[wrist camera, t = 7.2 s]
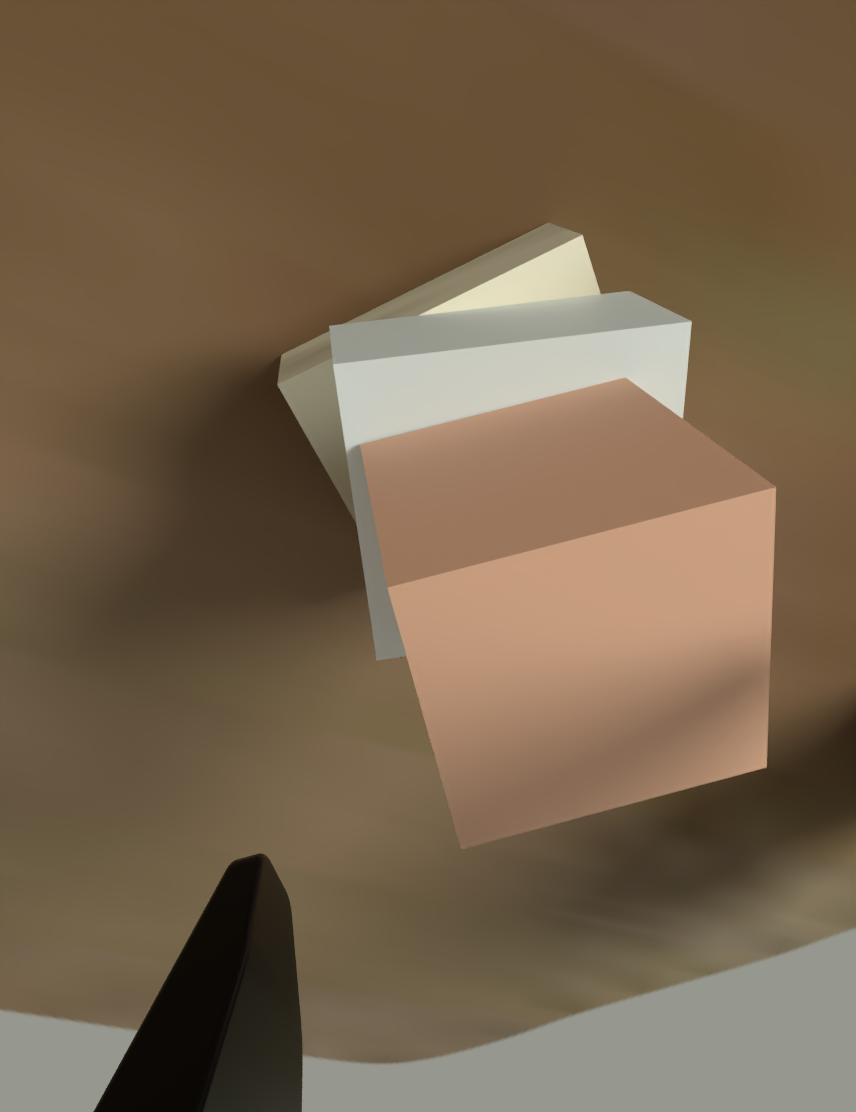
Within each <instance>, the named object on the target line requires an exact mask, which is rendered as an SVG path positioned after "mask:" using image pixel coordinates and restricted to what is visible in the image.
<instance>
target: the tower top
mask: <svg viewBox="0 0 856 1112" xmlns="http://www.w3.org/2000/svg"><path fill="white" fill-rule="evenodd" d="M691 323H692V321H690V320H688V319H686V318H684V317H682V316H680V315H677V314H675V313H673V312H671V311H669V310H667V309H665V308H663V307H661V306H659V305H657V304H655V303H653V302H651V301H649V300H647V299H645V298H643V297H641V296H639V295H637V294H635V293H633V292H630V291H626V292H617V293H608V294H600V295H591V296H582V297H574V298H565V299H557V300H548V301H539V302H531V303H522V304H513V305H505V306H496V307H488V308H479V309H470V310H462V311H453V312H444V313H436V314H427V315H418V316H410V317H401V318H393V319H384V320H375V321H367V322H358V323H349V324H341V325H332V326H329V329H330V339H331V349H332V359H333V368H334V374H335V381H336V388H337V395H338V402H339V408H340V415H341V422H342V429H343V435H344V442H345V449H346V456H347V462H348V469H349V476H350V483H351V490H352V496H353V503H354V510H355V517H356V523H357V530H358V537H359V544H360V551H361V557H362V564H363V571H364V578H365V584H366V591H367V598H368V605H369V612H370V618H371V625H372V632H373V639H374V645H375V652H376V659H377V660H384V659H391V658H397V657H404V656H406V652H405V649H404V645H403V642H402V638H401V634H400V631H399V627H398V624H397V620H396V617H395V613H394V610H393V606H392V602H391V599H390V595H389V592H388V588H387V583H386V578H385V573H384V568H383V563H382V557H381V552H380V547H379V542H378V537H377V532H376V526H375V521H374V516H373V511H372V506H371V500H370V495H369V490H368V485H367V480H366V474H365V469H364V464H363V459H362V454H361V449H360V445H361V444H365V443H368V442H372V441H376V440H380V439H384V438H388V437H392V436H396V435H400V434H404V433H408V432H412V431H416V430H420V429H424V428H428V427H432V426H436V425H439V424H443V423H447V422H451V421H455V420H459V419H463V418H467V417H471V416H475V415H479V414H483V413H487V412H491V411H495V410H499V409H503V408H507V407H511V406H514V405H518V404H522V403H526V402H530V401H534V400H538V399H542V398H546V397H550V396H554V395H558V394H562V393H566V392H570V391H574V390H578V389H582V388H586V387H589V386H593V385H597V384H601V383H605V382H609V381H613V380H617V379H621V378H625V377H626V378H627V379H629V380H630V381H631V382H633V383H634V384H635V385H637V386H638V387H640V388H641V389H642V390H644V391H645V392H646V393H648V394H649V395H650V396H652V397H653V398H655V399H656V400H657V401H659V402H660V403H661V404H663V405H664V406H666V407H667V408H668V409H670V410H671V411H672V412H674V413H675V414H677V415H678V416H679V417H681V418H682V419H683V411H684V400H685V389H686V378H687V367H688V356H689V345H690V334H691Z"/></svg>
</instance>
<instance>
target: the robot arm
mask: <svg viewBox="0 0 856 1112" xmlns="http://www.w3.org/2000/svg"><path fill="white" fill-rule="evenodd" d="M94 1112H302V1030H301V1017H300V1005H299V993H298V982H297V970H296V958H295V947H294V935H293V923H292V912H291V906H290V901H289V898H288V895H287V892H286V890H285V888H284V886H283V884H282V882H281V881H280V879H279V877H278V875H277V873H276V871H275V869H274V867H273V865H272V863H271V861H270V860H269V858H268V857H267V856H266V855H265V854H256V855H252V856H248V857H245V858H241V859H237V860H235V861H233V862H232V863H231V864H230V865H229V866H228V868H227V869H226V871H225V873H224V875H223V876H222V878H221V880H220V882H219V884H218V886H217V887H216V889H215V891H214V893H213V895H212V897H211V898H210V900H209V902H208V904H207V906H206V908H205V909H204V911H203V913H202V915H201V917H200V918H199V920H198V922H197V924H196V926H195V928H194V929H193V931H192V933H191V935H190V937H189V939H188V940H187V942H186V944H185V946H184V948H183V949H182V951H181V953H180V955H179V957H178V959H177V960H176V962H175V964H174V966H173V968H172V970H171V971H170V973H169V975H168V977H167V979H166V981H165V982H164V984H163V986H162V988H161V990H160V991H159V993H158V995H157V997H156V999H155V1001H154V1002H153V1004H152V1006H151V1008H150V1010H149V1012H148V1013H147V1015H146V1017H145V1019H144V1021H143V1023H142V1024H141V1026H140V1028H139V1030H138V1032H137V1033H136V1035H135V1037H134V1039H133V1041H132V1043H131V1045H130V1046H129V1048H128V1050H127V1052H126V1054H125V1055H124V1057H123V1059H122V1061H121V1063H120V1064H119V1066H118V1069H117V1070H116V1072H115V1074H114V1076H113V1077H112V1079H111V1081H110V1083H109V1085H108V1086H107V1088H106V1090H105V1092H104V1094H103V1096H102V1097H101V1099H100V1101H99V1103H98V1105H97V1107H96V1108H95V1110H94Z"/></svg>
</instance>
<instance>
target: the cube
mask: <svg viewBox="0 0 856 1112" xmlns="http://www.w3.org/2000/svg"><path fill="white" fill-rule="evenodd" d="M360 449H361V454H362V459H363V464H364V469H365V474H366V480H367V485H368V490H369V495H370V500H371V506H372V511H373V516H374V521H375V526H376V532H377V537H378V542H379V547H380V552H381V557H382V563H383V568H384V573H385V578H386V583H387V588H388V592H389V595H390V599H391V602H392V606H393V610H394V613H395V617H396V620H397V624H398V627H399V631H400V634H401V638H402V642H403V645H404V649H405V652H406V656H407V659H408V663H409V666H410V670H411V673H412V677H413V681H414V684H415V688H416V691H417V695H418V698H419V702H420V705H421V709H422V713H423V716H424V720H425V723H426V727H427V730H428V734H429V737H430V741H431V744H432V748H433V752H434V755H435V759H436V762H437V766H438V769H439V773H440V776H441V780H442V783H443V787H444V791H445V794H446V798H447V801H448V805H449V808H450V812H451V815H452V819H453V823H454V826H455V830H456V833H457V837H458V840H459V844H460V847H461V849H465V848H469V847H472V846H476V845H480V844H483V843H487V842H491V841H495V840H498V839H502V838H506V837H509V836H513V835H517V834H521V833H524V832H528V831H532V830H536V829H539V828H543V827H547V826H550V825H554V824H558V823H562V822H565V821H569V820H573V819H577V818H580V817H584V816H588V815H591V814H595V813H599V812H603V811H606V810H610V809H614V808H617V807H621V806H625V805H629V804H632V803H636V802H640V801H644V800H647V799H651V798H655V797H658V796H662V795H666V794H670V793H673V792H677V791H681V790H684V789H688V788H692V787H696V786H699V785H703V784H707V783H711V782H714V781H718V780H722V779H725V778H729V777H733V776H737V775H740V774H744V773H748V772H751V771H755V770H759V769H763V768H766V767H767V742H768V713H769V683H770V653H771V624H772V594H773V564H774V535H775V505H776V487H775V486H774V485H773V484H771V483H770V482H768V481H767V480H766V479H764V478H763V477H762V476H760V475H759V474H757V473H756V472H755V471H753V470H752V469H751V468H749V467H748V466H746V465H745V464H744V463H742V462H741V461H740V460H738V459H737V458H736V457H734V456H733V455H731V454H730V453H729V452H727V451H726V450H725V449H723V448H722V447H720V446H719V445H718V444H716V443H715V442H714V441H712V440H711V439H709V438H708V437H707V436H705V435H704V434H703V433H701V432H700V431H698V430H697V429H696V428H694V427H693V426H692V425H690V424H689V423H688V422H686V421H685V420H683V419H682V418H681V417H679V416H678V415H677V414H675V413H674V412H672V411H671V410H670V409H668V408H667V407H666V406H664V405H663V404H661V403H660V402H659V401H657V400H656V399H655V398H653V397H652V396H650V395H649V394H648V393H646V392H645V391H644V390H642V389H641V388H640V387H638V386H637V385H635V384H634V383H633V382H631V381H630V380H629V379H627V378H626V377H625V378H621V379H617V380H613V381H609V382H605V383H601V384H597V385H593V386H589V387H586V388H582V389H578V390H574V391H570V392H566V393H562V394H558V395H554V396H550V397H546V398H542V399H538V400H534V401H530V402H526V403H522V404H518V405H514V406H511V407H507V408H503V409H499V410H495V411H491V412H487V413H483V414H479V415H475V416H471V417H467V418H463V419H459V420H455V421H451V422H447V423H443V424H439V425H436V426H432V427H428V428H424V429H420V430H416V431H412V432H408V433H404V434H400V435H396V436H392V437H388V438H384V439H380V440H376V441H372V442H368V443H365V444H361V445H360Z"/></svg>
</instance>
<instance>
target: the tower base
mask: <svg viewBox="0 0 856 1112" xmlns="http://www.w3.org/2000/svg"><path fill="white" fill-rule="evenodd" d="M591 295H600V291H599V288H598V284H597V281H596V278H595V275H594V271H593V268H592V265H591V262H590V258H589V255H588V252H587V249H586V245H585V242H584V239H583V235H581V234H578V233H576V232H573V231H570V230H567V229H564V228H562V227H559V226H556V225H553V224H550V223H546V224H544V225H542V226H540V227H538V228H536V229H534V230H532V231H530V232H528V233H526V234H524V235H522V236H520V237H518V238H516V239H514V240H512V241H510V242H508V243H506V244H504V245H502V246H500V247H498V248H496V249H494V250H492V251H490V252H488V253H486V254H484V255H482V256H480V257H478V258H476V259H474V260H472V261H470V262H468V263H466V264H464V265H462V266H460V267H458V268H456V269H453V270H451V271H449V272H447V273H445V274H443V275H441V276H439V277H437V278H435V279H433V280H431V281H429V282H427V283H425V284H423V285H421V286H419V287H417V288H415V289H413V290H411V291H409V292H407V293H405V294H403V295H401V296H399V297H397V298H395V299H393V300H391V301H389V302H387V303H385V304H383V305H381V306H379V307H377V308H375V309H373V310H371V311H369V312H367V313H365V314H363V315H361V316H359V317H357V318H355V319H353V320H351V321H349V322H346V323H344V324H349V323H358V322H367V321H375V320H384V319H393V318H401V317H410V316H418V315H427V314H436V313H444V312H453V311H462V310H470V309H479V308H488V307H496V306H505V305H513V304H522V303H531V302H539V301H548V300H557V299H565V298H574V297H582V296H591ZM277 385H278V387H279V389H280V390H281V392H282V394H283V396H284V397H285V399H286V401H287V403H288V405H289V406H290V408H291V410H292V412H293V413H294V415H295V417H296V419H297V420H298V422H299V424H300V426H301V427H302V429H303V431H304V433H305V434H306V436H307V438H308V440H309V441H310V443H311V445H312V447H313V448H314V450H315V452H316V454H317V456H318V457H319V459H320V461H321V463H322V464H323V466H324V468H325V470H326V471H327V473H328V475H329V477H330V478H331V480H332V482H333V484H334V485H335V487H336V489H337V491H338V492H339V494H340V496H341V498H342V500H343V501H344V503H345V505H346V507H347V508H348V510H349V512H350V514H351V515H352V517H353V519H354V521H355V522H356V517H355V510H354V503H353V496H352V490H351V483H350V476H349V469H348V462H347V456H346V449H345V442H344V435H343V429H342V422H341V415H340V408H339V402H338V395H337V388H336V381H335V374H334V368H333V359H332V349H331V339H330V331H328V332H326V333H324V334H322V335H320V336H318V337H316V338H314V339H312V340H310V341H308V342H306V343H304V344H302V345H300V346H298V347H296V348H294V349H292V350H290V351H288V352H286V353H284V354H282V355H281V361H280V368H279V376H278V383H277ZM356 524H357V523H356Z"/></svg>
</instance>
